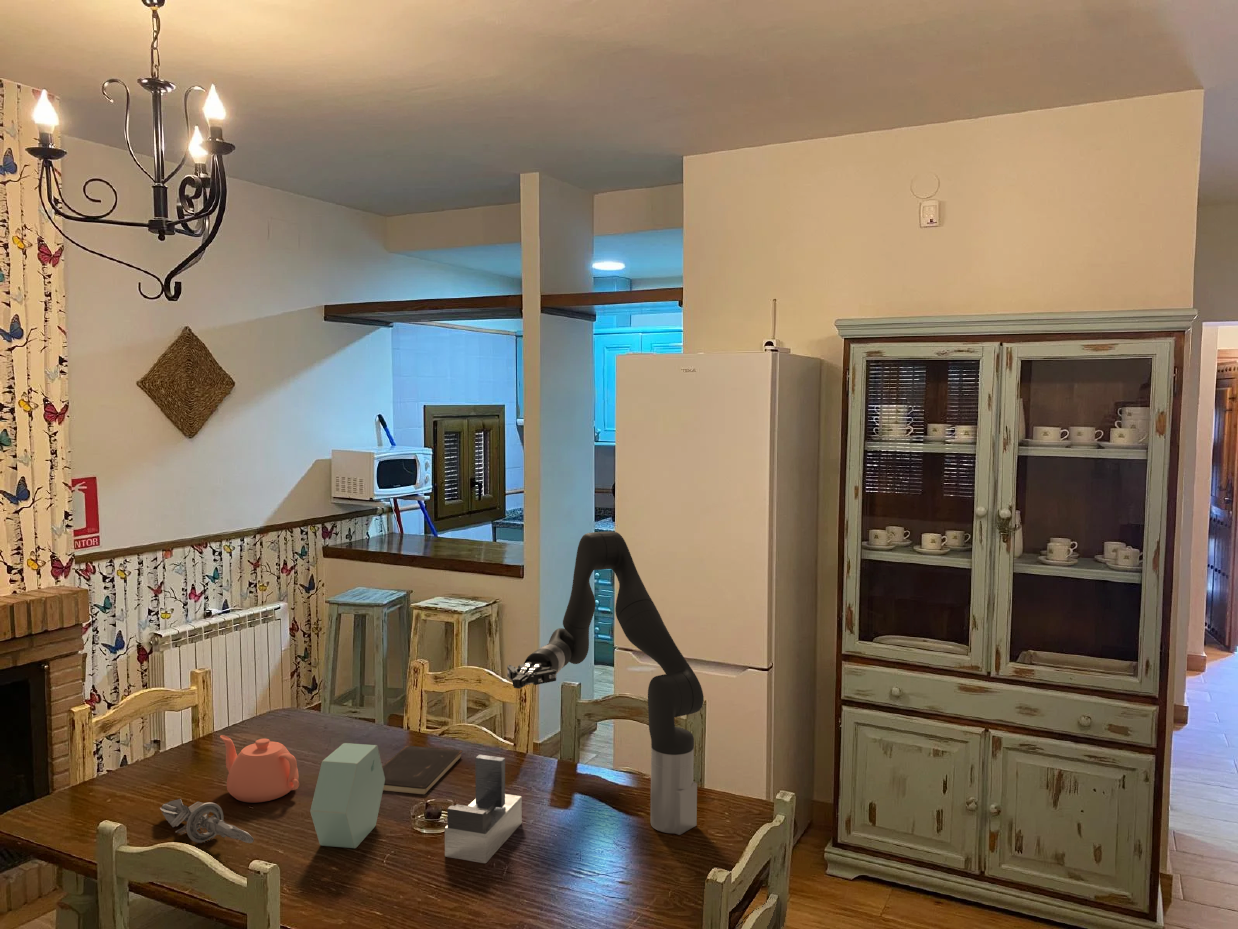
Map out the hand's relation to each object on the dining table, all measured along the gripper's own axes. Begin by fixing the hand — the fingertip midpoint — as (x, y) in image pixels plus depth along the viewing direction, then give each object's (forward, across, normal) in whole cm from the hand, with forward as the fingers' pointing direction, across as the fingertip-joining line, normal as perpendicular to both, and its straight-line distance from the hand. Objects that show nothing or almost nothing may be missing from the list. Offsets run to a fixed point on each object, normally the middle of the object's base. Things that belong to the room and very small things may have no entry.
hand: (516, 684), depth 201 cm
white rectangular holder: (+17, 0, +28) cm, 33 cm away
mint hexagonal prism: (+24, -28, +28) cm, 46 cm away
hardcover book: (-9, -31, +29) cm, 43 cm away
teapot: (+12, -60, +28) cm, 67 cm away
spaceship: (+35, -54, +28) cm, 71 cm away
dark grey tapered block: (+19, 0, +22) cm, 29 cm away
